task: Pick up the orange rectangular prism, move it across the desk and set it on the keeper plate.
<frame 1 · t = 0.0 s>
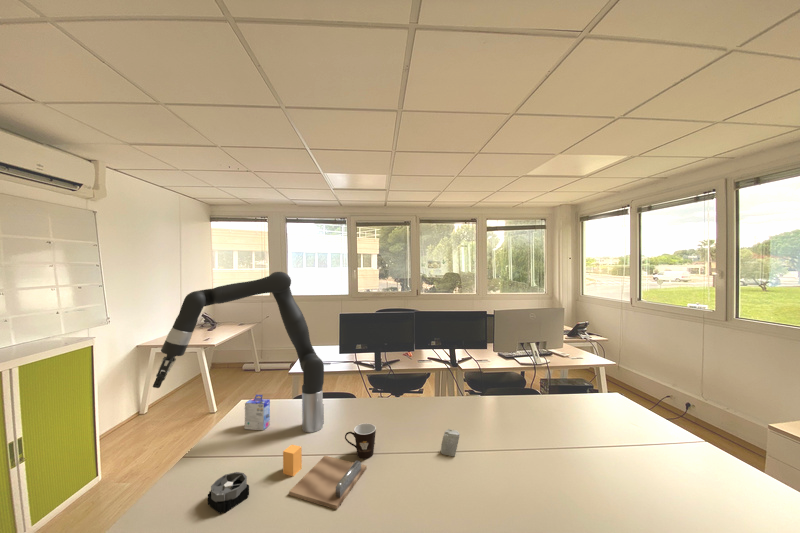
hand: (158, 383, 112), 31 cm above the table, fingers open, 8 cm apart
keeper plate: (330, 481, 104), on the table
orange rectangular prism: (292, 471, 109), on the table
mineral specimen: (450, 451, 120), on the table
ink cartridge box: (257, 427, 141), on the table
cpu cooler: (228, 500, 96), on the table
coffee mug: (362, 453, 120), on the table
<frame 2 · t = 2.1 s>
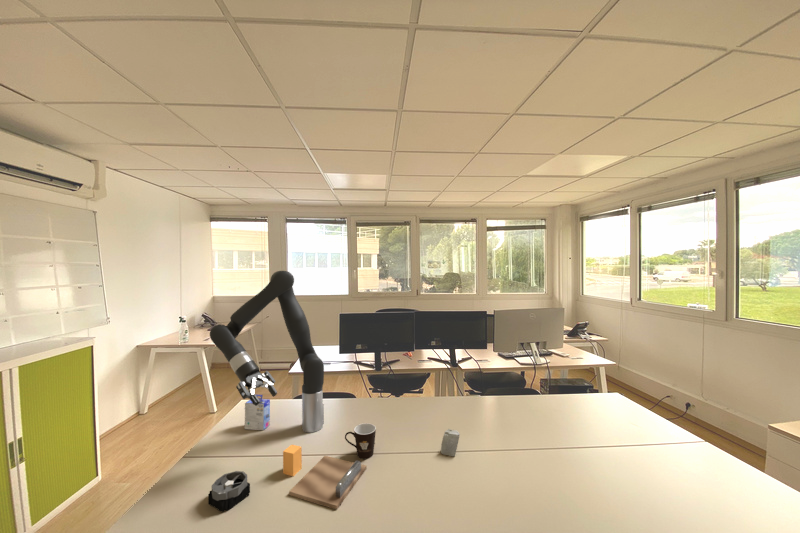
hand: (267, 399, 114), 24 cm above the table, fingers open, 8 cm apart
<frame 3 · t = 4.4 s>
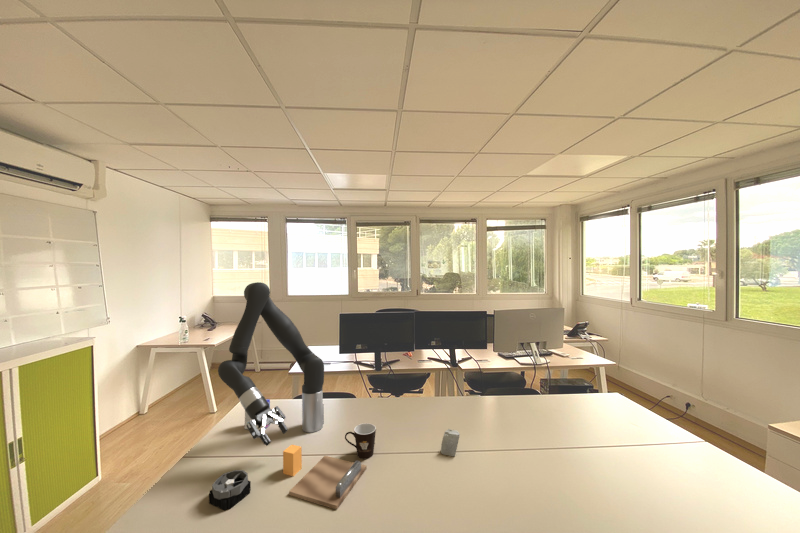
hand: (277, 437, 112), 11 cm above the table, fingers open, 8 cm apart
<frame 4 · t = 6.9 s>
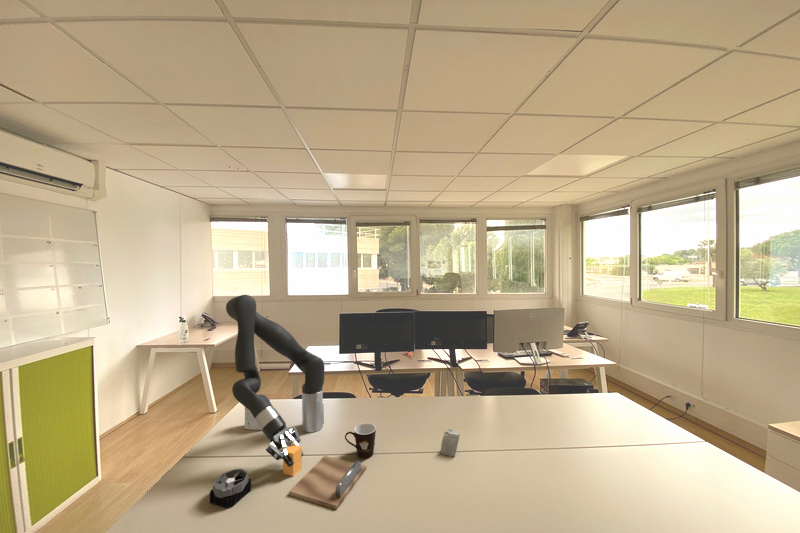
hand: (296, 460, 109), 4 cm above the table, fingers closed on orange rectangular prism, 4 cm apart
orange rectangular prism: (292, 471, 109), on the table, touching gripper
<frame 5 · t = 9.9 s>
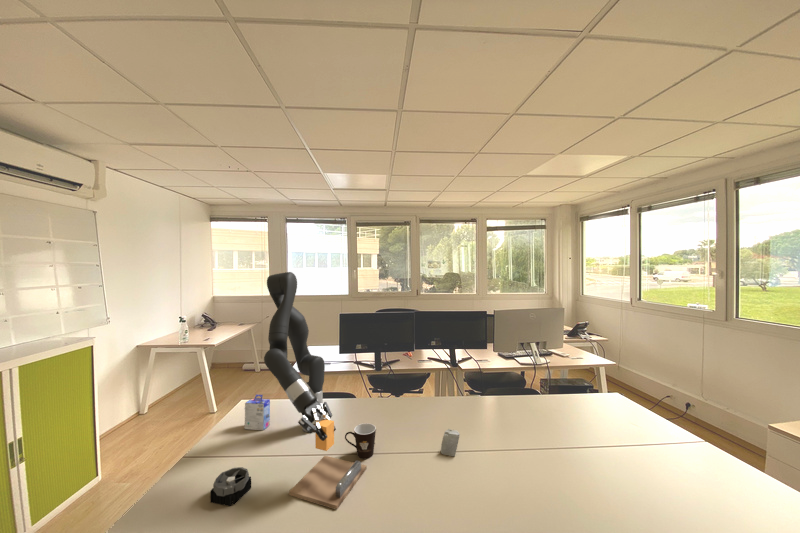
hand: (329, 435, 104), 16 cm above the table, fingers closed on orange rectangular prism, 4 cm apart
orange rectangular prism: (324, 446, 104), point 12 cm above the table, touching gripper
when the fingers open (7 cm above the table, at t = 12.8 s): orange rectangular prism drops 1 cm, resting on keeper plate.
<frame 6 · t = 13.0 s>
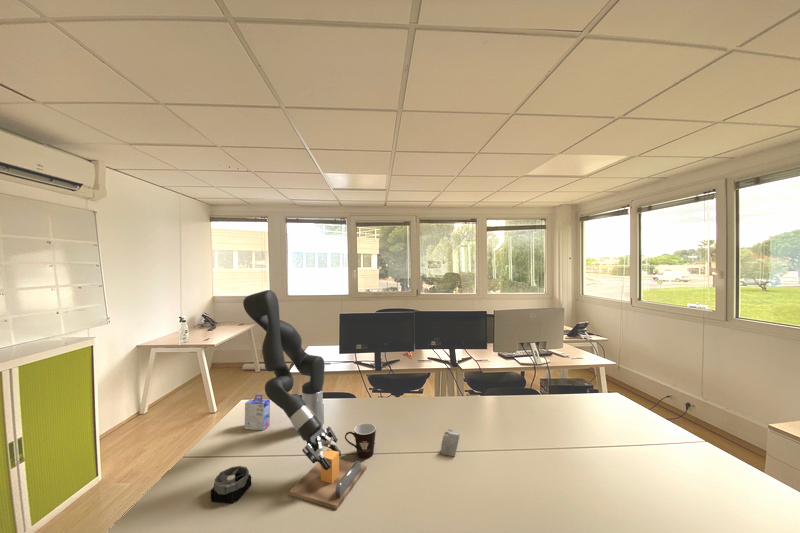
hand: (334, 462, 103), 7 cm above the table, fingers open, 6 cm apart
orange rectangular prism: (330, 477, 104), point 1 cm above the table, touching keeper plate
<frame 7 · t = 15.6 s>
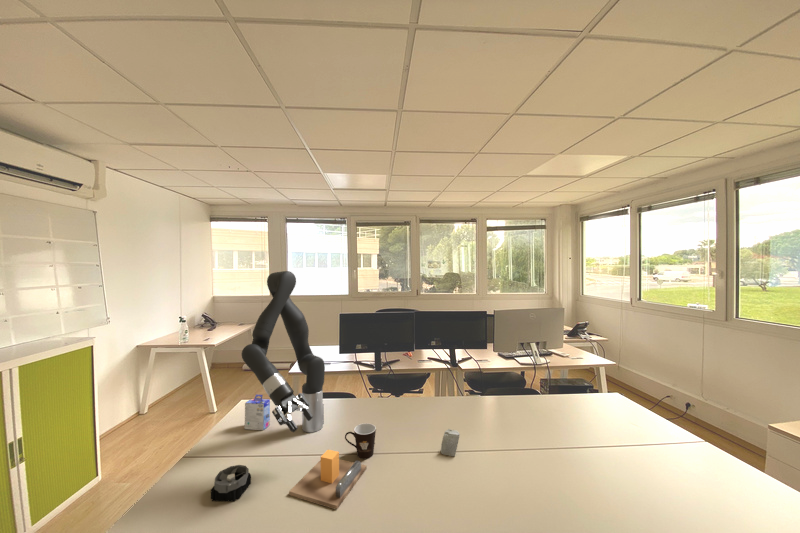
hand: (303, 424, 108), 18 cm above the table, fingers open, 8 cm apart
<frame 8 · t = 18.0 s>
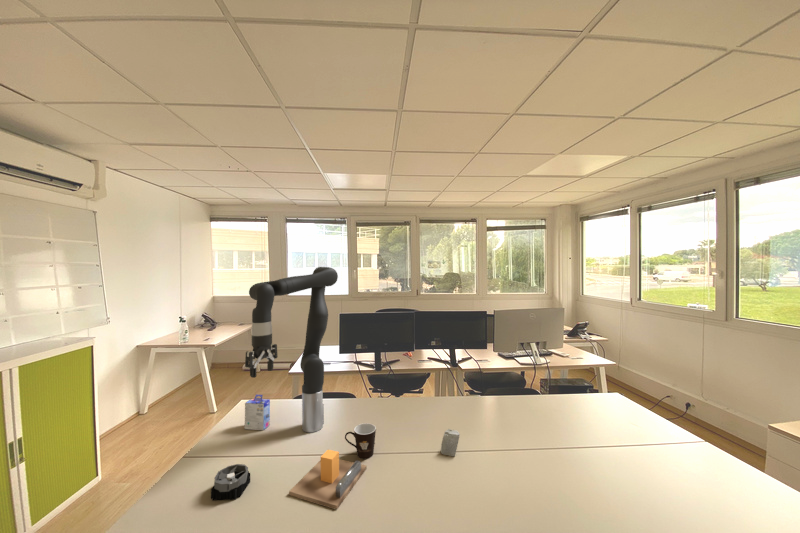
hand: (262, 373, 120), 32 cm above the table, fingers open, 8 cm apart
at the end: orange rectangular prism inside the target area on the keeper plate (0.0 cm from its centre), point 1.2 cm above the keeper plate's base; orange rectangular prism tilted 0°; the gripper is holding nothing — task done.
